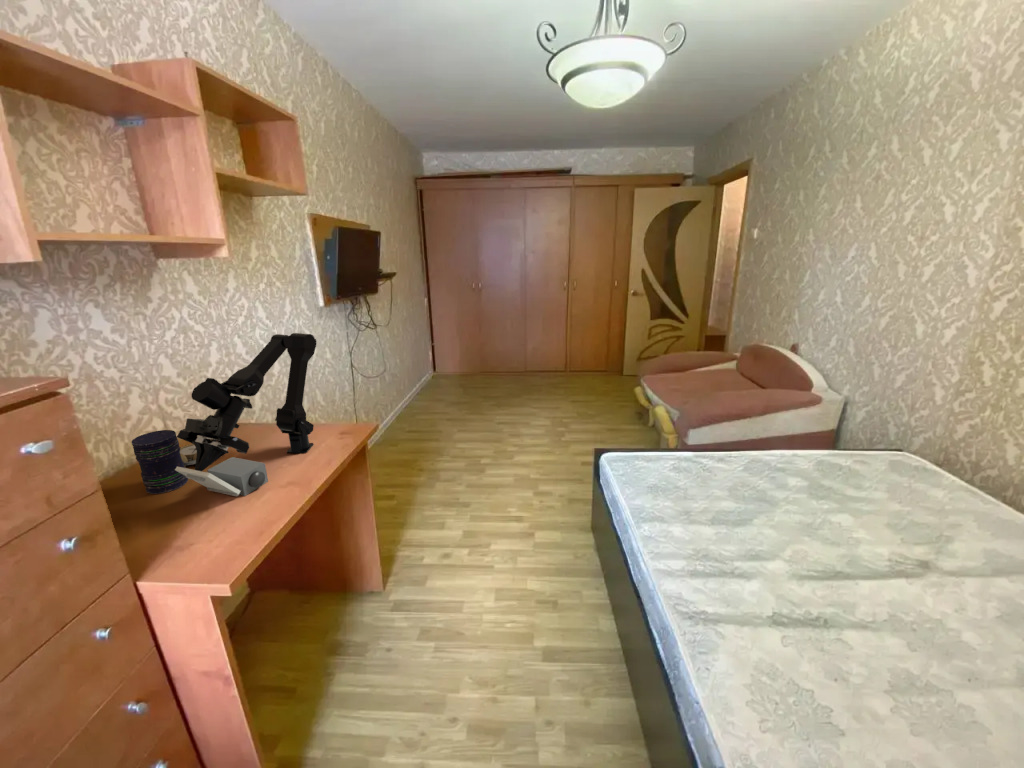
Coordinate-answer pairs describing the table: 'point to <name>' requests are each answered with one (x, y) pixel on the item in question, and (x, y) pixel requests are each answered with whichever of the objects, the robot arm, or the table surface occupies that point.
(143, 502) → the table surface
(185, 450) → the alarm clock
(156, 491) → the storage jar
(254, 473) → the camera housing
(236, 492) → the door
